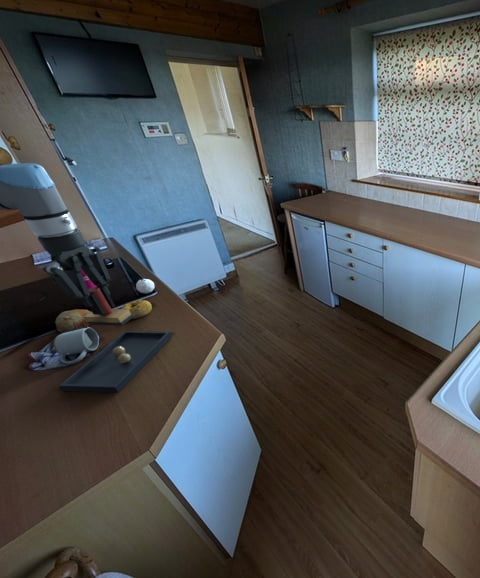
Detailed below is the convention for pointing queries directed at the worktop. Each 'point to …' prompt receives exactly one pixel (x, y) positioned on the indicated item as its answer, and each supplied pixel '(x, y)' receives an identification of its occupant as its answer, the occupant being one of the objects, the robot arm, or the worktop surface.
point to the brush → (107, 312)
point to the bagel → (138, 308)
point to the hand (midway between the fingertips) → (104, 310)
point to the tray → (116, 363)
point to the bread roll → (72, 320)
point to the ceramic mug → (76, 343)
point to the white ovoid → (145, 285)
